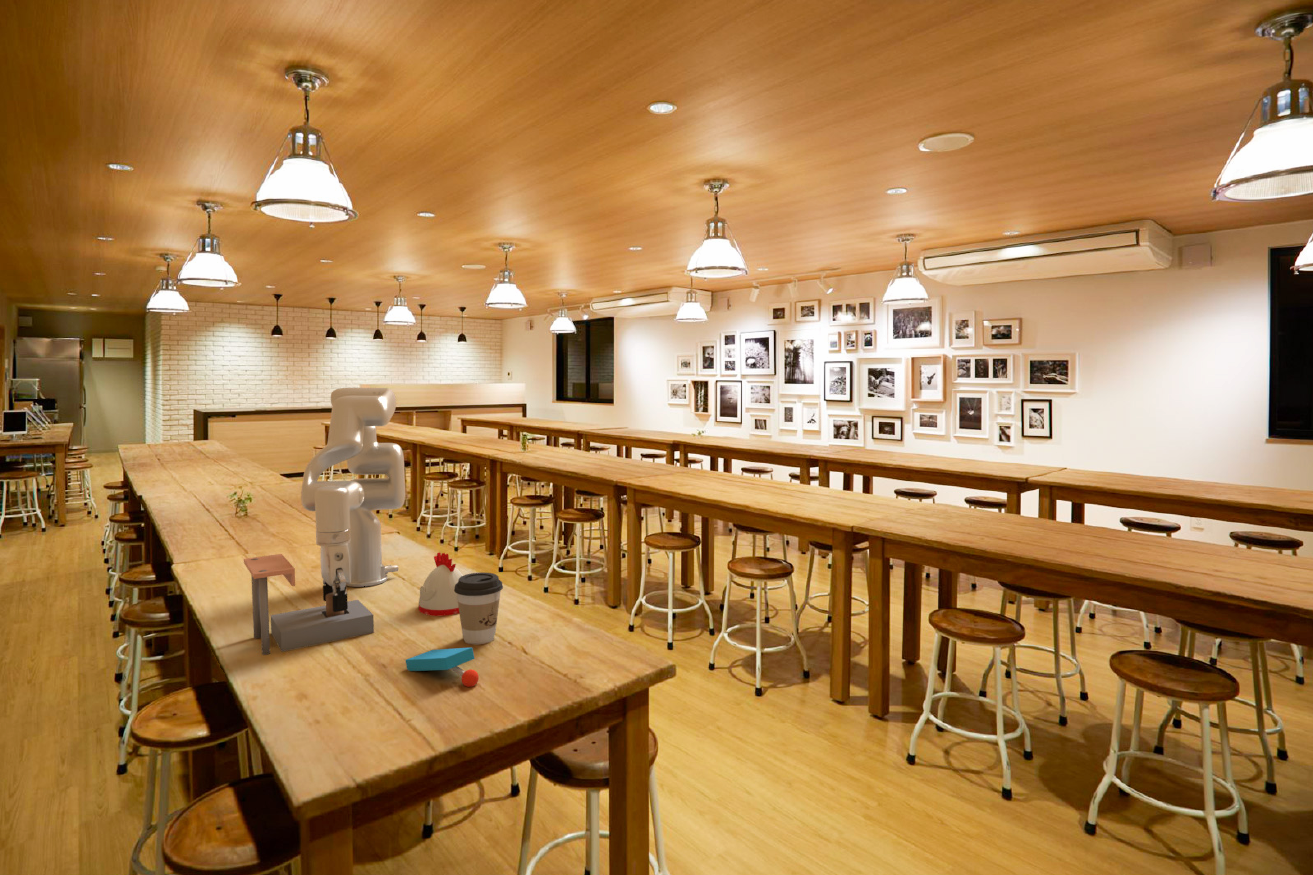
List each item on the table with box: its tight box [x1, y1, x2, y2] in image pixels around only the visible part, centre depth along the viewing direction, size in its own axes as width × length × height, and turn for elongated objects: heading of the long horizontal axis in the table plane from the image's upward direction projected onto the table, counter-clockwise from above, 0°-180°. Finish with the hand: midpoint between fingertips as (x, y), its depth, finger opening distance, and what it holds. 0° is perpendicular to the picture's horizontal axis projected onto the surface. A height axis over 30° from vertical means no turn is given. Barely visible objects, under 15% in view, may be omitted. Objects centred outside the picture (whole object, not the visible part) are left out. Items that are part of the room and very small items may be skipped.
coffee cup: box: [454, 571, 504, 646], centre depth 162 cm, size 11×11×15 cm
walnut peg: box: [325, 593, 344, 618], centre depth 167 cm, size 4×4×9 cm
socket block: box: [270, 599, 375, 652], centre depth 166 cm, size 20×14×4 cm
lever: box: [404, 646, 480, 688], centre depth 143 cm, size 7×7×18 cm
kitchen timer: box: [418, 551, 464, 617], centre depth 185 cm, size 14×14×15 cm
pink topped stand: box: [243, 553, 296, 656], centre depth 158 cm, size 8×16×19 cm, turn 38°
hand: (335, 605), depth 167 cm, fingers open, 9 cm apart
